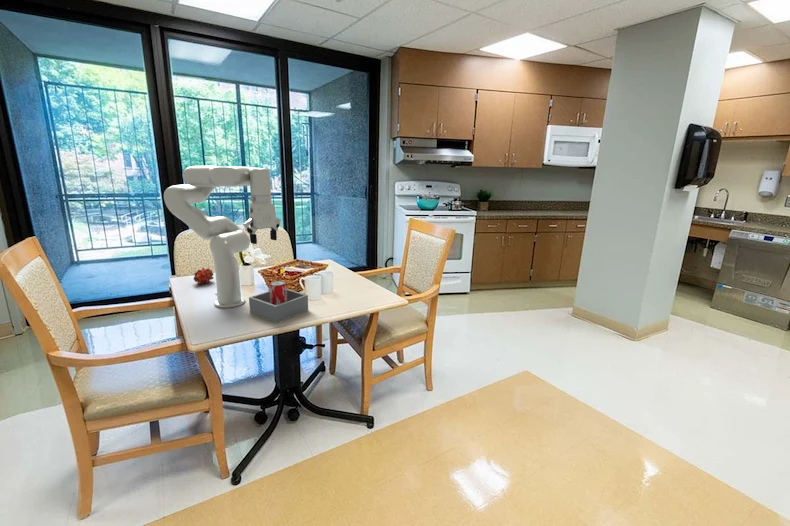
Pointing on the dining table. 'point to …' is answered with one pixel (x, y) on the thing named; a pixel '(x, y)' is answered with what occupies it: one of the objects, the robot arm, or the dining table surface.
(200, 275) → the dragon fruit
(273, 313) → the crate
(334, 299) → the dining table surface
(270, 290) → the soda can
